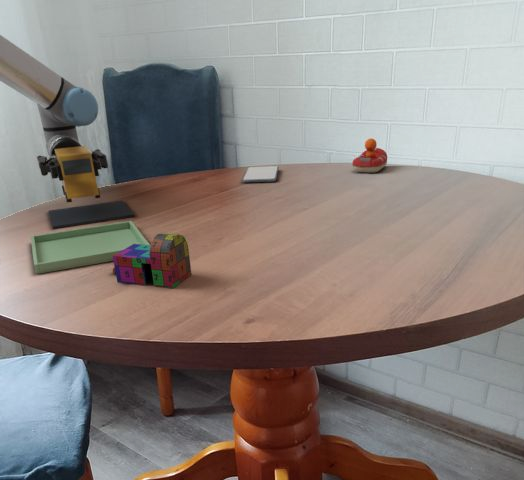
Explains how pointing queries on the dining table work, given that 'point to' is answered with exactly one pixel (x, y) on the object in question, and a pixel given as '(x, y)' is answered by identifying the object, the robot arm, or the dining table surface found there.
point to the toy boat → (370, 158)
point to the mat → (89, 214)
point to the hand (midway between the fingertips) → (78, 171)
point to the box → (83, 246)
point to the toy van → (77, 172)
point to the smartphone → (261, 174)
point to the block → (154, 261)
